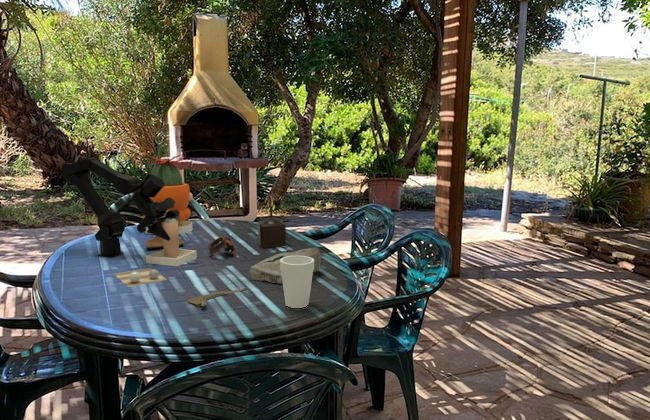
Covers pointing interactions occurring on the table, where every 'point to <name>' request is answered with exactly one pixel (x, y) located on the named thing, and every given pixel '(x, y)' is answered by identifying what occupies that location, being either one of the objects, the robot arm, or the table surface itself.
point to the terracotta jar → (171, 238)
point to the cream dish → (172, 258)
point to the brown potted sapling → (272, 229)
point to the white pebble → (134, 276)
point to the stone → (271, 266)
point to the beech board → (143, 279)
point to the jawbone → (202, 299)
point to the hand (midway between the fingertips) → (174, 238)
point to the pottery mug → (222, 246)
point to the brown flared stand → (160, 239)
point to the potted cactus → (173, 190)
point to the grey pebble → (153, 274)
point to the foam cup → (297, 280)
